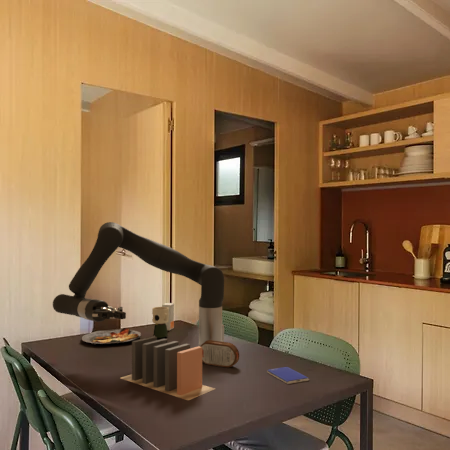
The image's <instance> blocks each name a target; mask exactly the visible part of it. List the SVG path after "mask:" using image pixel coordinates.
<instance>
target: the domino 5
mask: <svg viewBox="0 0 450 450" xmlns="http://www.w3.org/2000/svg"><path fill="white" fill-rule="evenodd" d="M202 385H203V361H202V347H200V346H199V345H198V346H195V347H190V349H187V350H184V351H180V352H177V394H178V395H183V394H186V393H188V392H191V391H194V390H196V389H199V388H201V387H202Z"/></svg>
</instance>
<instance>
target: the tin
mask: <svg viewBox="0 0 450 450" xmlns="http://www.w3.org/2000/svg"><path fill="white" fill-rule="evenodd" d="M200 347H202V363H203V364H206V365H208V366H215V367H219V368H221V367H222V368H232V367H233V366H235V365H236V364H238V362H239V360H240V351H239V349H238V347H237V346H236V345H235V344H233V343H231V342H227V341H224V342H220V341H213V340H208V341H205V342H204V343H203V344H202V345H201V346H200Z"/></svg>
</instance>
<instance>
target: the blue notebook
mask: <svg viewBox="0 0 450 450" xmlns="http://www.w3.org/2000/svg"><path fill="white" fill-rule="evenodd" d="M266 372H267V373H268V374H269V375H271V376H273V377H274V378H276V379H278V380H280V381H282V382H283V383H285V384H286V385H288V384H289V385H290V384H295V383H301V382H308V381H310V378H309V377H307V376H306V375H304V374H302V373H300V372H298V371H296V370H294V369H292V367H291V368H290V367H288V366H282V367H276V368H270V369H267V371H266Z"/></svg>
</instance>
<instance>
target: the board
mask: <svg viewBox="0 0 450 450" xmlns="http://www.w3.org/2000/svg"><path fill="white" fill-rule="evenodd" d="M120 379H121V380H124V381H128V382H131V383H133V384H136V385H140V386H143V387H145V388H149V389H150V390H151V389H152V390H155V391H158V392H160V393H164V394H167V395H169V396H173V397H176V398H178V399H182V400H185V401H190V400H193V399H195V398H197V397H200V396H202V395H206V394H208V393H210V392H212V391H215V390H216V388H215V387H211V386H207V385H204V384H202V387H201V388H199V389H196V390H194V391H191V392H188V393H186V394H183V395H178V394H177V389H174V390H171V391H166V390H165V385H163V386H160V387H158V388H157V387H153V382H151V383H148V384H144V383H142V379H139V380H136V381H135V380H132V373H131V374H129V375H125V376H122V377H120Z"/></svg>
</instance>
